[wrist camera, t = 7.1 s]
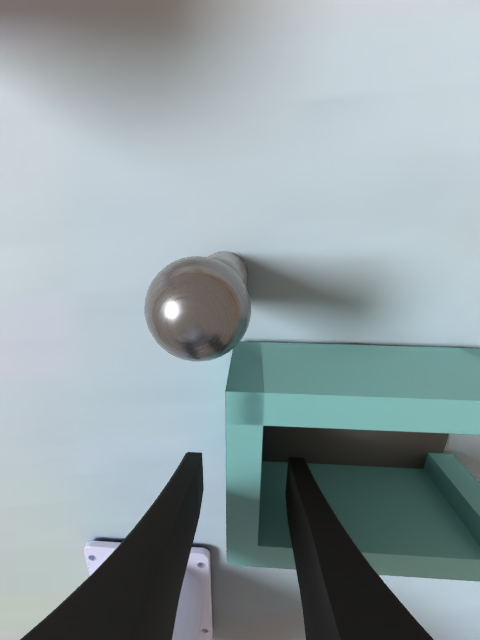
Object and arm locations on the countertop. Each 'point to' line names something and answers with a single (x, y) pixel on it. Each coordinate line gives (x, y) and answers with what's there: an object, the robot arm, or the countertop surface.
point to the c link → (346, 480)
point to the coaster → (351, 446)
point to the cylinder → (199, 306)
